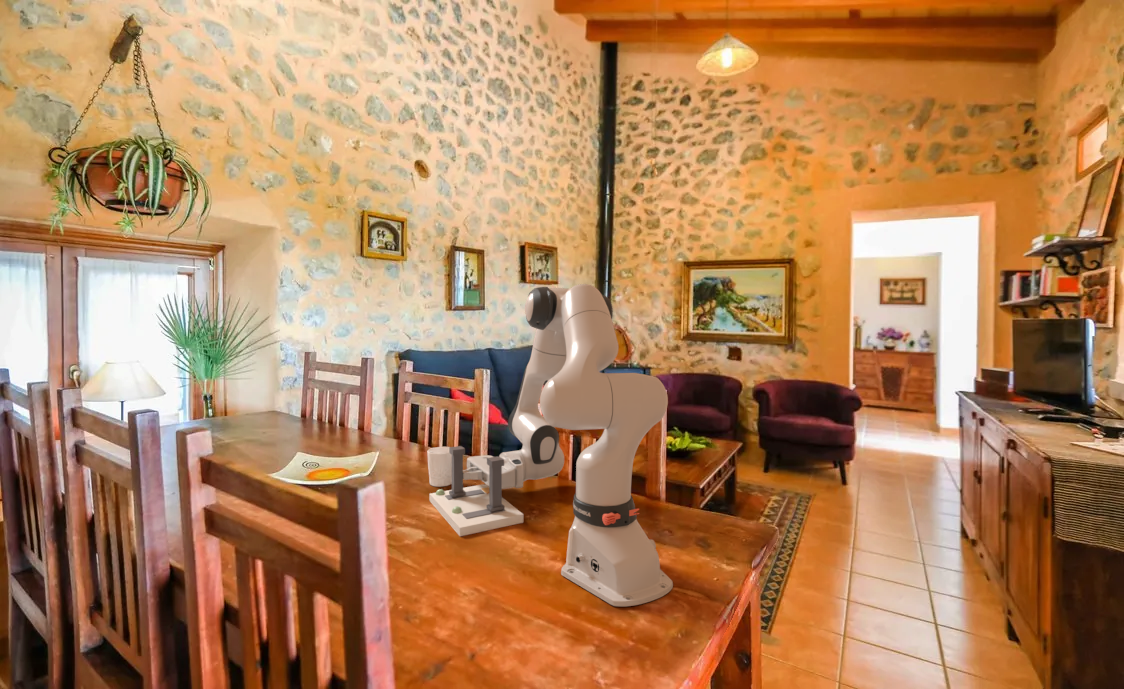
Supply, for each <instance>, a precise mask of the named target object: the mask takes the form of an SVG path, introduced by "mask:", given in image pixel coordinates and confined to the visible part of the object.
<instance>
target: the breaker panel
mask: <svg viewBox="0 0 1124 689" xmlns="http://www.w3.org/2000/svg"><path fill="white" fill-rule="evenodd" d="M463 490H464V491H465V492H466V495H462V496H457V497H452V496H451V495H450V494H449V491H452V489H449V490H444V489H443V488H441V489H440V488H439V489H437V490H436V492H432V493H431V492H430V493H429V497H428V498H429V502H430V504H432V506H433V507H434V508H435V509H436V510H437V512H438V513H439V514H440V515H441V517H443V519H445V521H446V522H447V523H448V524H449V525H450V526H451V528H452V529H453V530H454V531H455V532H456V534H457V535H458V536H459V537H465V536H469V535H472V534H473V535H474V534H476V533H477V534H478V533H482V532H487V531H491V530H494V529H499V528H504V527H508V526H509V527H510V526H512V525H514V526H515V525H517V524H523V523H524V513H523V512H521V511H520V510H518V508H517V507H515V506H513V505H512V504H511V503H510V502H509V501H508V500H506V499H505V498H504V497H502V504H503V505H504V506H505V509H503V510H498V511H493V512H490V511H489V510H488V509H487V505H488V504H489V486H488V485H486V484H485V483H483V484H479V485H472V486H471V485H470V486H467V487H463Z"/></svg>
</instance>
